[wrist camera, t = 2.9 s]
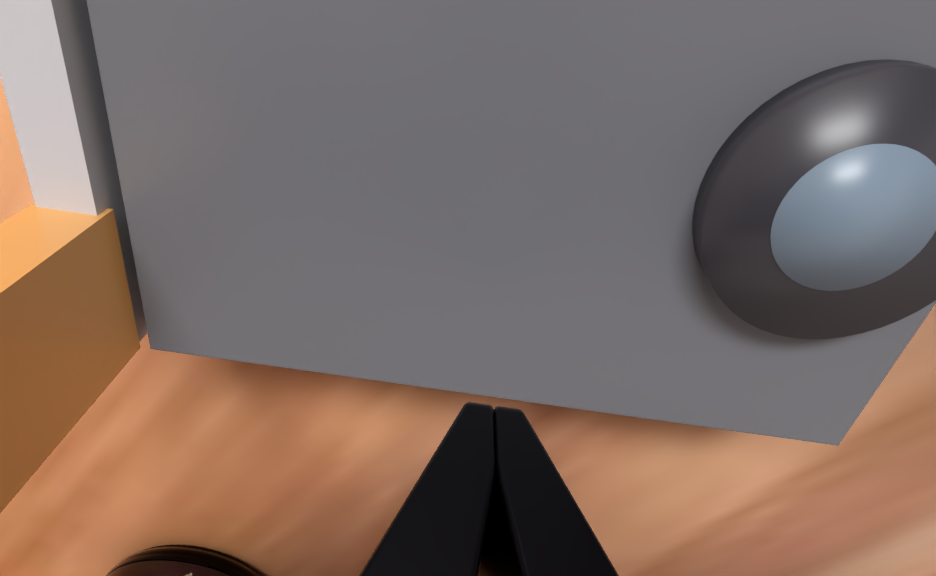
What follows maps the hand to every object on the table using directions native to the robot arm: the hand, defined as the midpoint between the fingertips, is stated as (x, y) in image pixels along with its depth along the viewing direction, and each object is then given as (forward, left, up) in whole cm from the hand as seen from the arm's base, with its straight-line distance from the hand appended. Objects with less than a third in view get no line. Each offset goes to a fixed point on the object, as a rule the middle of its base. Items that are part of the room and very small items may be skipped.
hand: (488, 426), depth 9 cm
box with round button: (0, -3, -6) cm, 7 cm away
